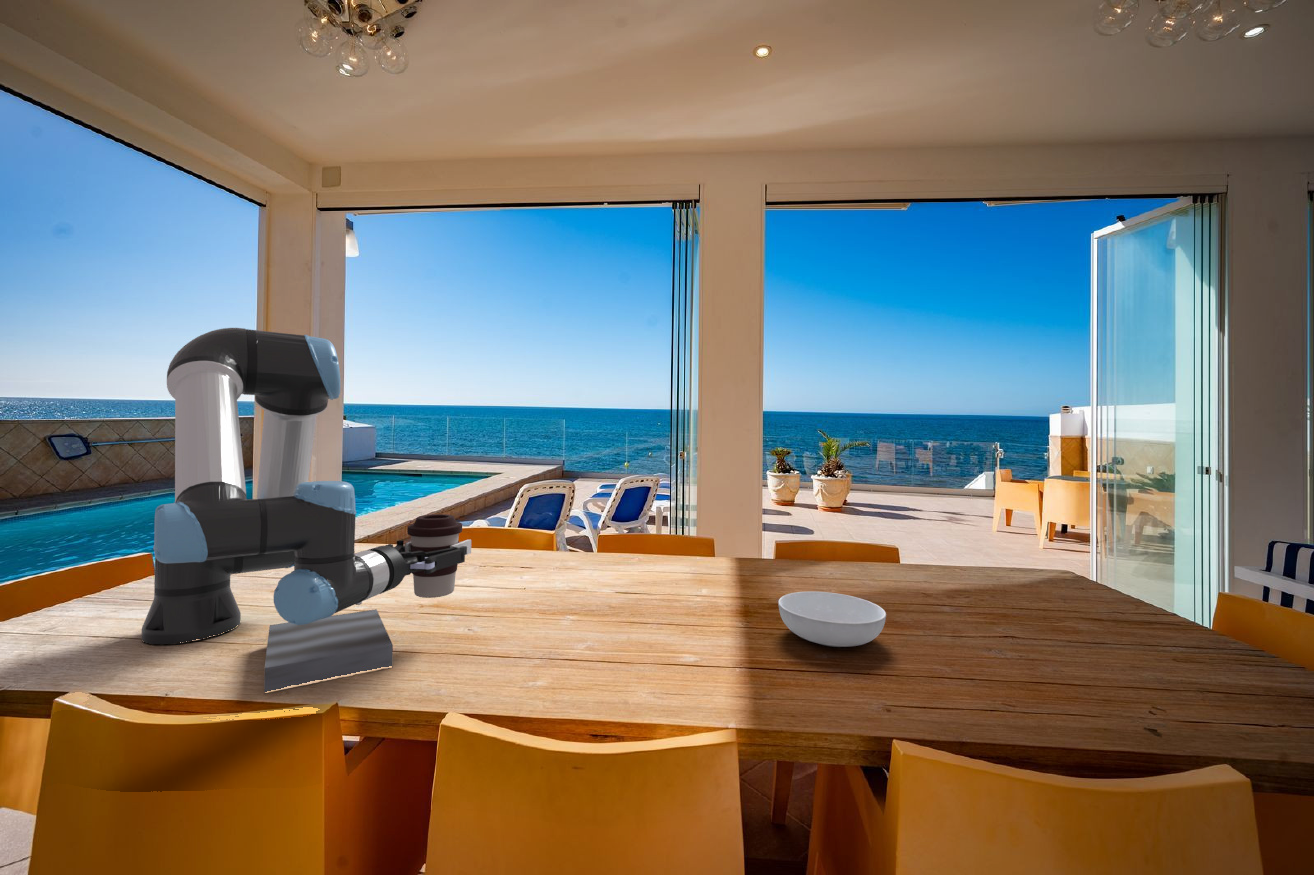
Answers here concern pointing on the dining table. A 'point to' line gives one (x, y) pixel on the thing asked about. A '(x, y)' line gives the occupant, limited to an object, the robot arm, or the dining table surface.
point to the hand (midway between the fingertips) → (447, 545)
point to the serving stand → (326, 649)
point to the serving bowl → (831, 618)
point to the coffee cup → (432, 537)
